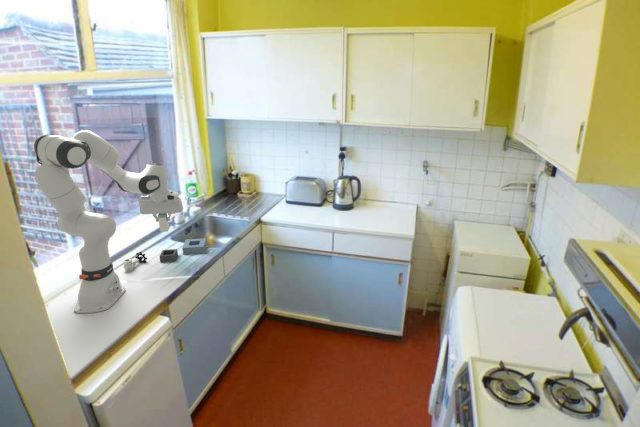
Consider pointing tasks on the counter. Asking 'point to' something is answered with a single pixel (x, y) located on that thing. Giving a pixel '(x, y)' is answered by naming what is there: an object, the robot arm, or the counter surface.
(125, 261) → the valve
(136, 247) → the counter surface
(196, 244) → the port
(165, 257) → the grey square container
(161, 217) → the plug
